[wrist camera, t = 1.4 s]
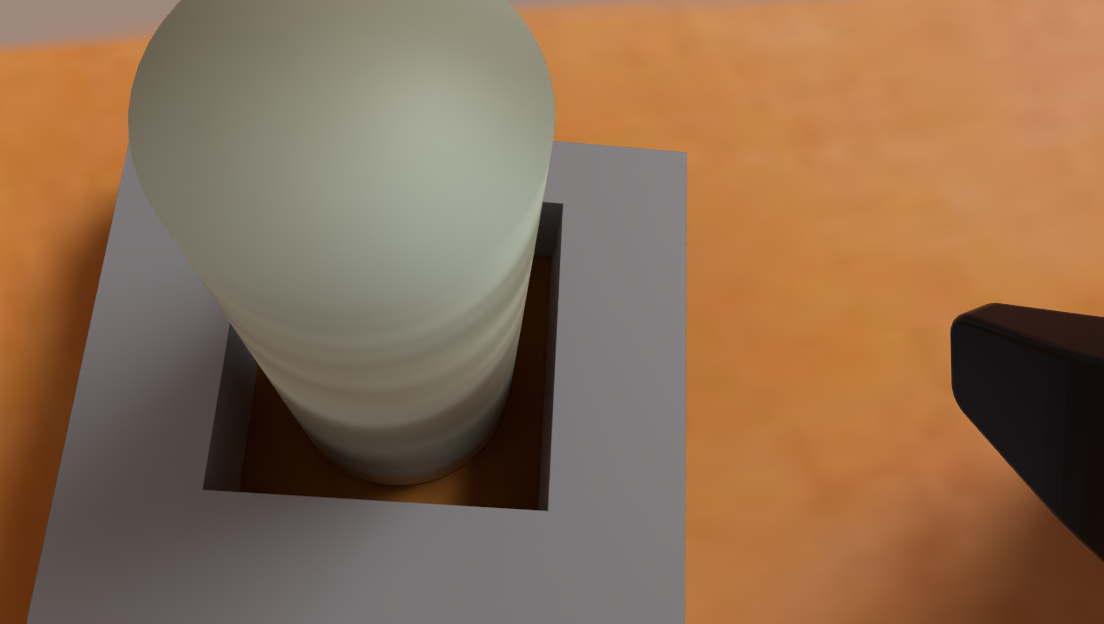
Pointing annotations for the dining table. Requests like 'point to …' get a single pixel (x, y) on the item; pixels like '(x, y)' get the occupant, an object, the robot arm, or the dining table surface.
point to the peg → (357, 206)
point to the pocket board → (367, 525)
